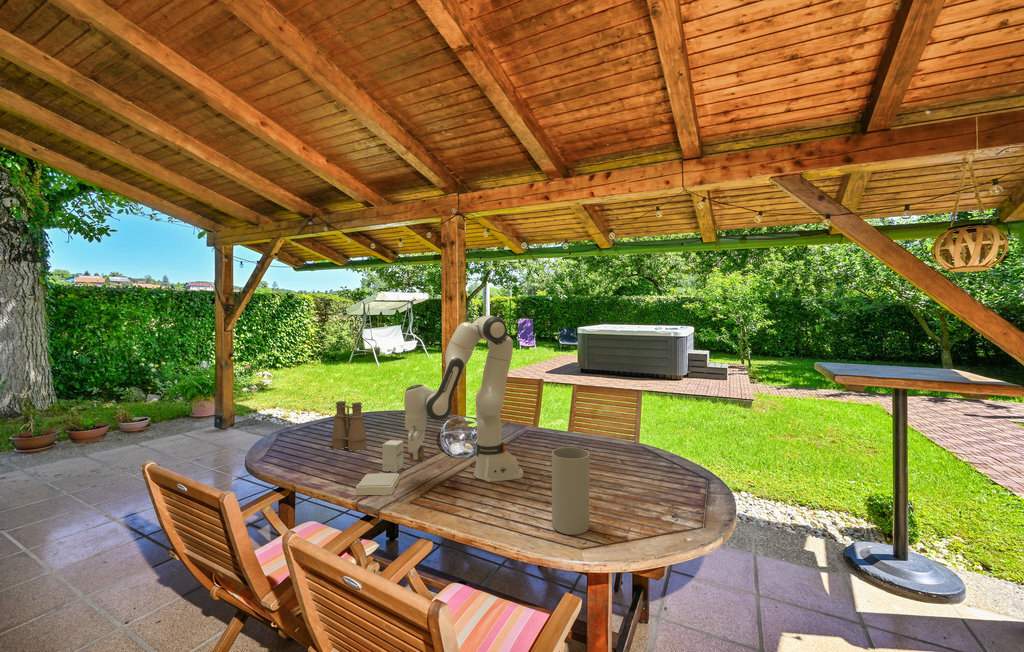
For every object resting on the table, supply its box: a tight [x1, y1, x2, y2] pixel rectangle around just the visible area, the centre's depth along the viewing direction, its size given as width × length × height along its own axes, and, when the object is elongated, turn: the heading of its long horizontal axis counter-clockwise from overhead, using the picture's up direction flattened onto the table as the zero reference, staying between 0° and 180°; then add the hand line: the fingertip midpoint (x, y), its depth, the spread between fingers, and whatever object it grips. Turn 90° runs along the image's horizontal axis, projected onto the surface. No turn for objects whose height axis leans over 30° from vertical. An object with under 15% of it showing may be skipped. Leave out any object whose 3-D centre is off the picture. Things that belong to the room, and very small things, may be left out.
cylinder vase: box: [551, 446, 590, 536], centre depth 142 cm, size 12×12×25 cm
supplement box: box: [381, 439, 404, 473], centre depth 197 cm, size 7×7×13 cm
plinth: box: [355, 472, 400, 496], centre depth 174 cm, size 14×14×4 cm
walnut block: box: [409, 445, 425, 463], centre depth 177 cm, size 5×5×5 cm
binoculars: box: [330, 400, 368, 451], centre depth 229 cm, size 21×10×25 cm, turn 70°
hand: (417, 456), depth 177 cm, fingers closed on walnut block, 5 cm apart
